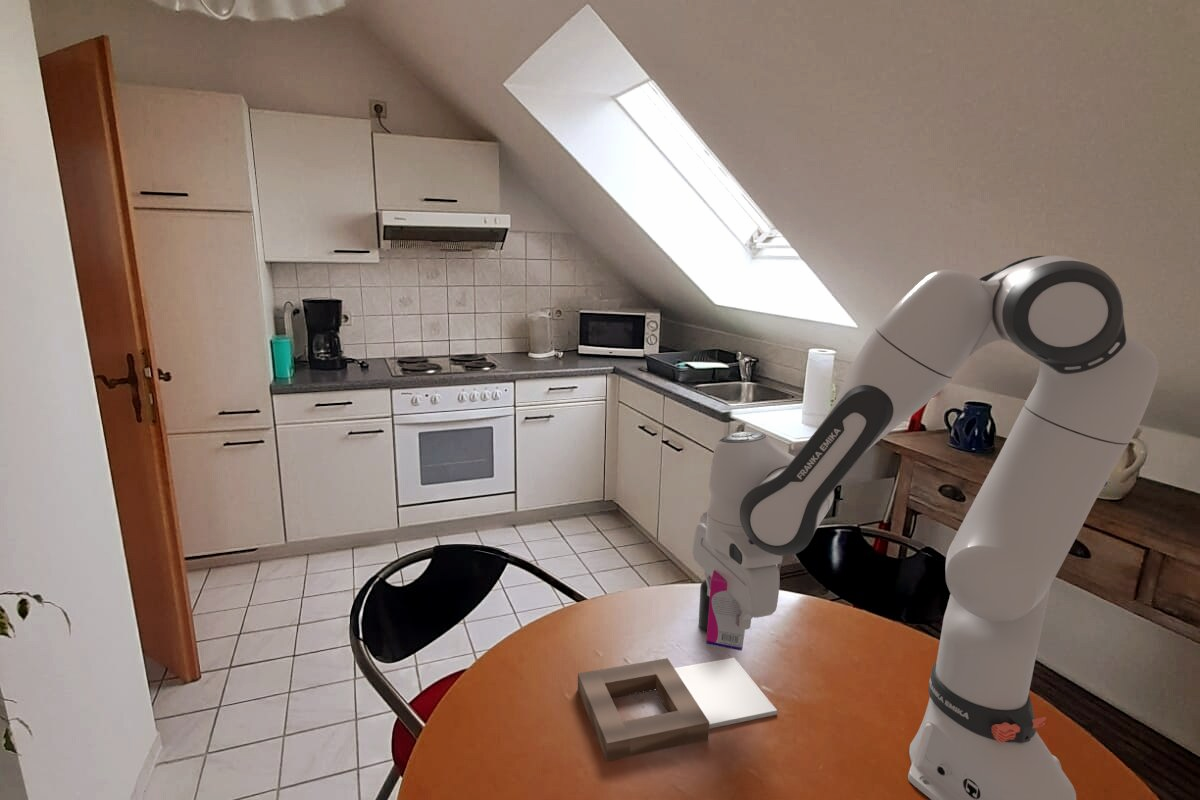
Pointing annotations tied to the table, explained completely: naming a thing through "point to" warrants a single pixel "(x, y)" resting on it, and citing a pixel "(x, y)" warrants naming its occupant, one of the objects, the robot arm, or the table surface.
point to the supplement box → (723, 616)
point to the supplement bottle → (703, 606)
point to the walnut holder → (646, 732)
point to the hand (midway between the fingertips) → (727, 611)
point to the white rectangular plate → (725, 692)
